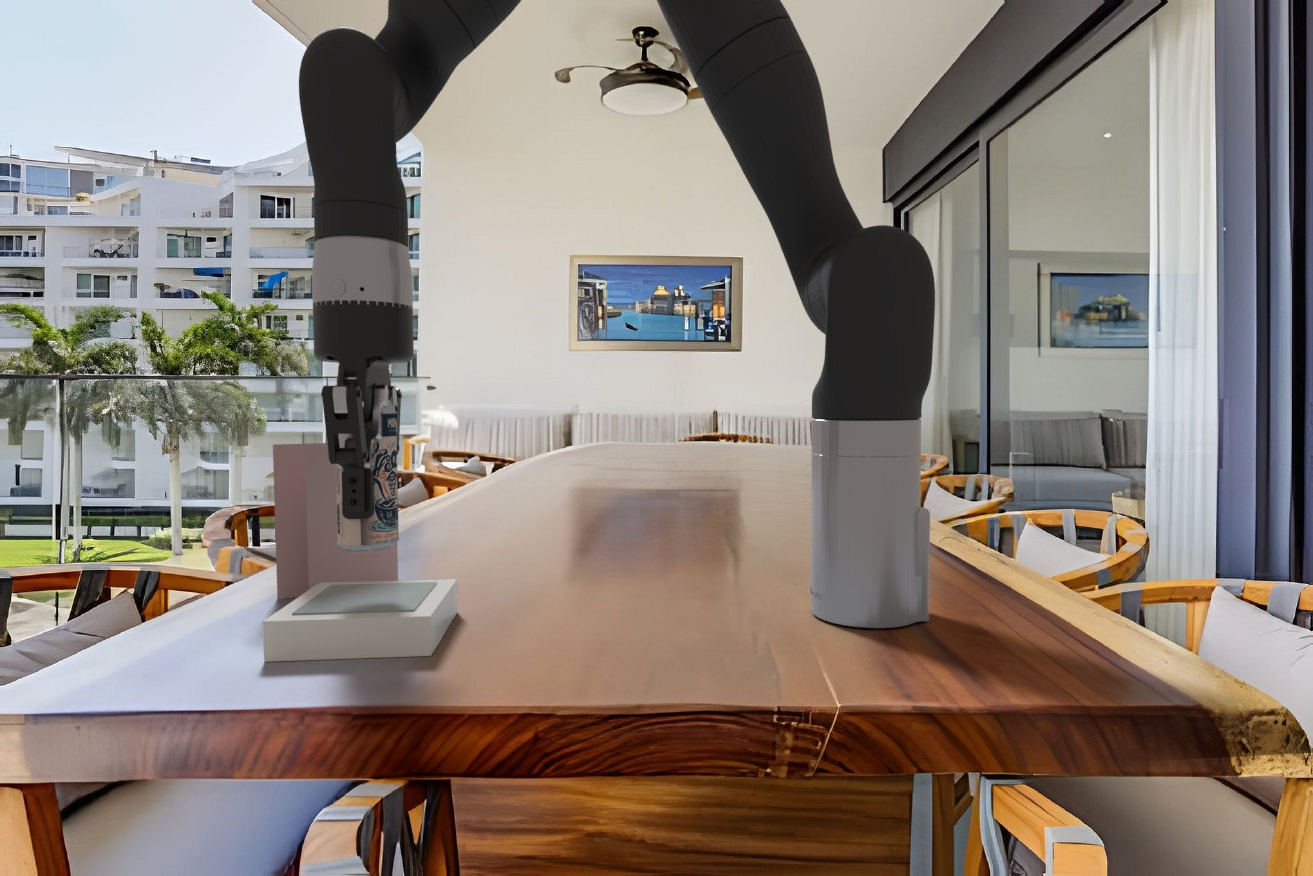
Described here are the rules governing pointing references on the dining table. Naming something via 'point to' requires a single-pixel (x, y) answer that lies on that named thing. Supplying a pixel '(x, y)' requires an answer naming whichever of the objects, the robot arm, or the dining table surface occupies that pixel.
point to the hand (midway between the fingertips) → (368, 512)
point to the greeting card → (315, 526)
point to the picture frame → (362, 621)
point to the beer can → (375, 496)
